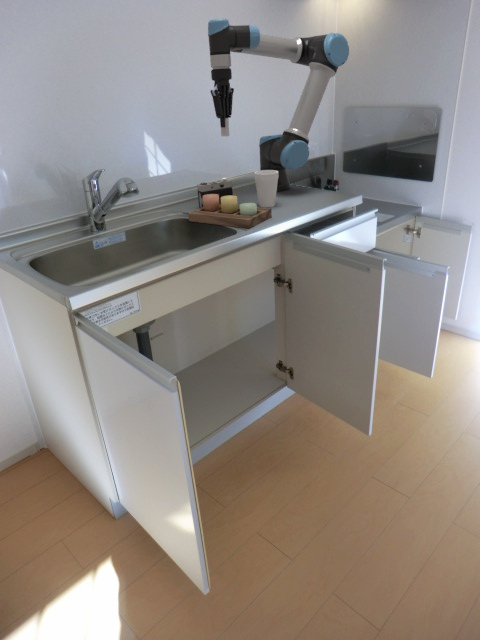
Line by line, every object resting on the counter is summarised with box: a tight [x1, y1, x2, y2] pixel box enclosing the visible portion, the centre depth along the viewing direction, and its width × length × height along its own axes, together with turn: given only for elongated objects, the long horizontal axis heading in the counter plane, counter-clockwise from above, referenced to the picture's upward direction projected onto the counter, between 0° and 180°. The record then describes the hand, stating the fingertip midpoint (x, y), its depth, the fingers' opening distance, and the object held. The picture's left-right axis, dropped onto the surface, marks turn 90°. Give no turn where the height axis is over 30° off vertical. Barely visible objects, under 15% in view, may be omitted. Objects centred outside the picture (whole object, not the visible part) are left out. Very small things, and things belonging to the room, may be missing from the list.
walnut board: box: [188, 204, 273, 229], centre depth 177 cm, size 16×26×3 cm, turn 58°
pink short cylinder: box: [203, 194, 220, 211], centre depth 179 cm, size 6×6×5 cm
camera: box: [196, 179, 234, 209], centre depth 196 cm, size 14×8×10 cm, turn 120°
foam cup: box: [253, 170, 279, 208], centre depth 191 cm, size 10×9×13 cm
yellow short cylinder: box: [221, 195, 239, 213], centre depth 176 cm, size 6×6×5 cm
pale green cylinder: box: [239, 202, 258, 216], centre depth 173 cm, size 6×6×5 cm
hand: (225, 136), depth 188 cm, fingers closed
